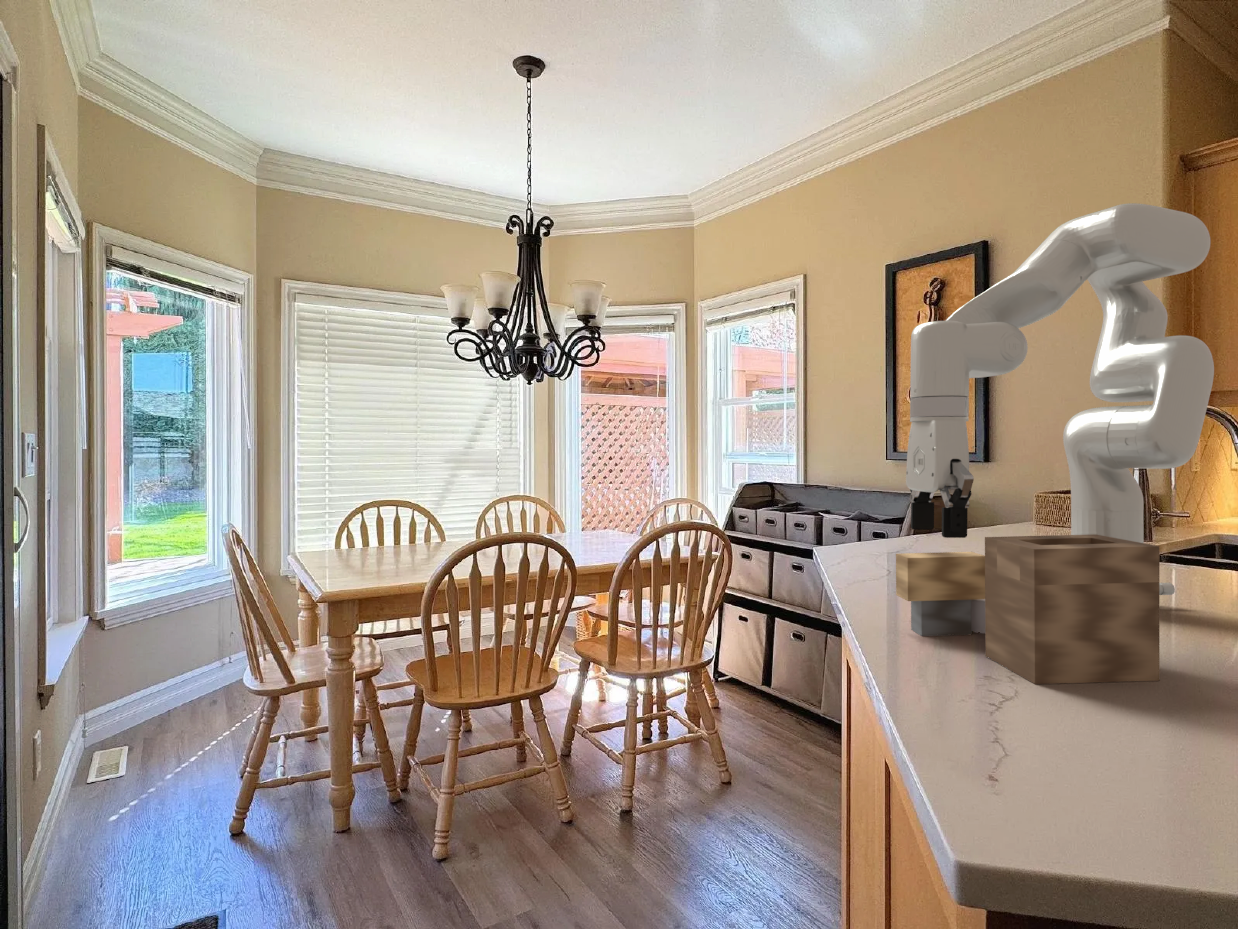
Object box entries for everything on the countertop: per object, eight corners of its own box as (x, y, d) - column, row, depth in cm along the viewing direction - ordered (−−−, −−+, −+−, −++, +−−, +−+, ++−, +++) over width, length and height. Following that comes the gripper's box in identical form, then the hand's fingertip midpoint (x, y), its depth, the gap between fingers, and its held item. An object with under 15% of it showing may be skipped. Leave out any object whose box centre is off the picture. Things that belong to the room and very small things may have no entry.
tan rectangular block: (972, 627, 104) (971, 551, 104) (986, 634, 100) (986, 556, 100) (896, 629, 104) (895, 553, 104) (908, 637, 100) (907, 558, 100)
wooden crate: (1096, 653, 91) (1095, 534, 90) (1159, 680, 80) (1159, 546, 80) (985, 656, 91) (984, 537, 90) (1034, 684, 80) (1034, 549, 80)
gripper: (888, 414, 110) (887, 526, 110) (941, 407, 93) (939, 541, 93) (937, 414, 110) (936, 526, 110) (999, 407, 93) (997, 541, 93)
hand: (937, 533), depth 102 cm, fingers open, 9 cm apart
